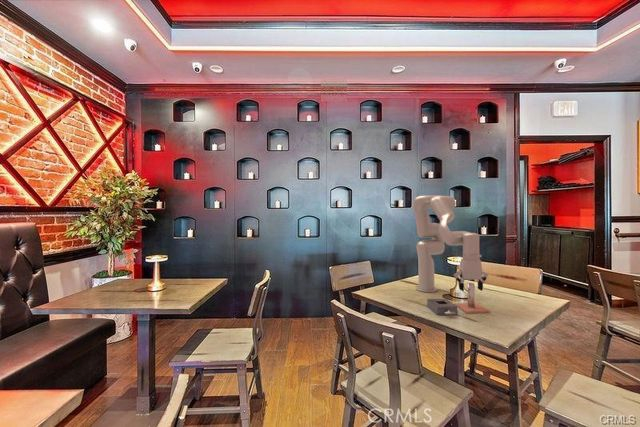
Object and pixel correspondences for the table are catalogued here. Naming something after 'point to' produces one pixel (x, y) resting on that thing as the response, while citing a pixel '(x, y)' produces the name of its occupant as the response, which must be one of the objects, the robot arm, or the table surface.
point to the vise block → (442, 306)
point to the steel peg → (471, 295)
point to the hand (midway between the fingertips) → (470, 290)
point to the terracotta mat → (477, 308)
